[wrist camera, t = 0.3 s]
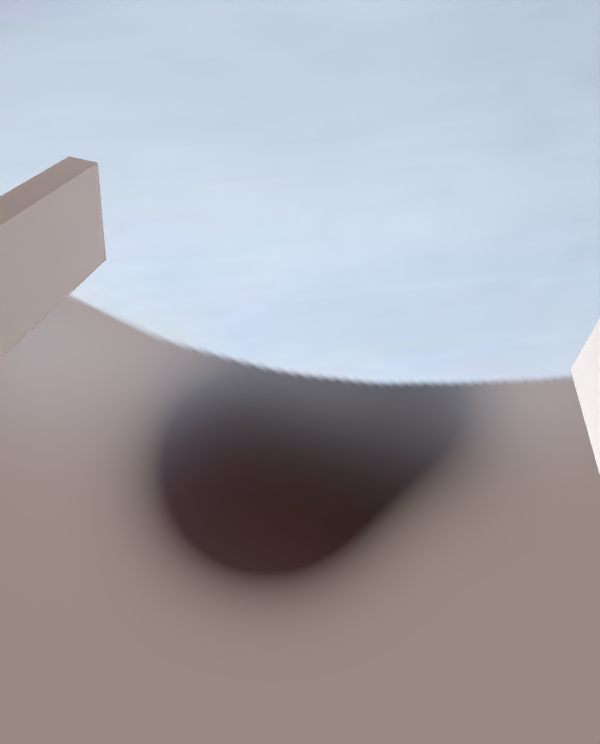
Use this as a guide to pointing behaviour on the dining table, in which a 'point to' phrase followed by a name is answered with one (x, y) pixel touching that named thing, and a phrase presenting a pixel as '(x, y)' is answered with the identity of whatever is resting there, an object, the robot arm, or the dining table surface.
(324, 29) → the dining table surface
